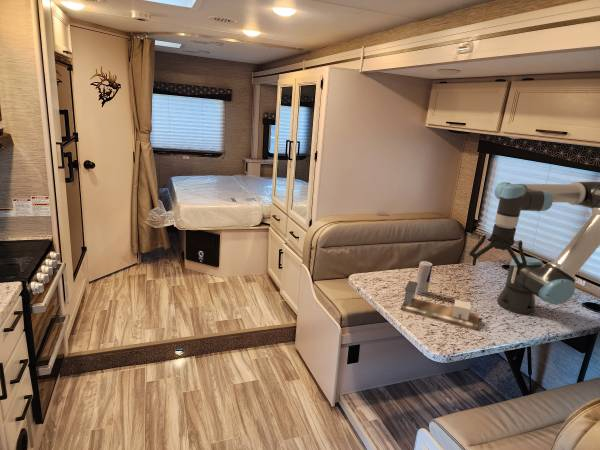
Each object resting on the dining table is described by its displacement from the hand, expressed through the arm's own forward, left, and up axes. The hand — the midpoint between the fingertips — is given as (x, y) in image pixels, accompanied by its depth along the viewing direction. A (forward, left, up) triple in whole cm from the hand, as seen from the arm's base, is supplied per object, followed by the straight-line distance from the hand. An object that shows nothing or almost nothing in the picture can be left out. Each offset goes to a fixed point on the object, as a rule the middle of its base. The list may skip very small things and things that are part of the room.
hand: (493, 277), depth 153 cm
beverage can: (+27, -16, -21) cm, 37 cm away
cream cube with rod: (+9, +1, -19) cm, 21 cm away
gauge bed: (+17, 0, -21) cm, 27 cm away
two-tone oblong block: (+30, -1, -19) cm, 35 cm away
